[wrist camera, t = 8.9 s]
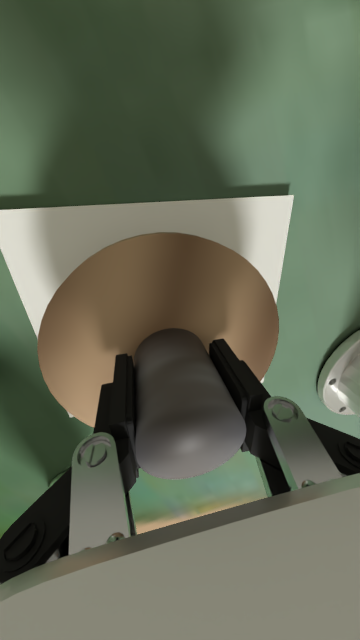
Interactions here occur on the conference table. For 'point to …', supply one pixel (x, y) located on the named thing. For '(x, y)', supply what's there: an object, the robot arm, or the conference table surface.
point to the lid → (161, 343)
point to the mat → (128, 221)
